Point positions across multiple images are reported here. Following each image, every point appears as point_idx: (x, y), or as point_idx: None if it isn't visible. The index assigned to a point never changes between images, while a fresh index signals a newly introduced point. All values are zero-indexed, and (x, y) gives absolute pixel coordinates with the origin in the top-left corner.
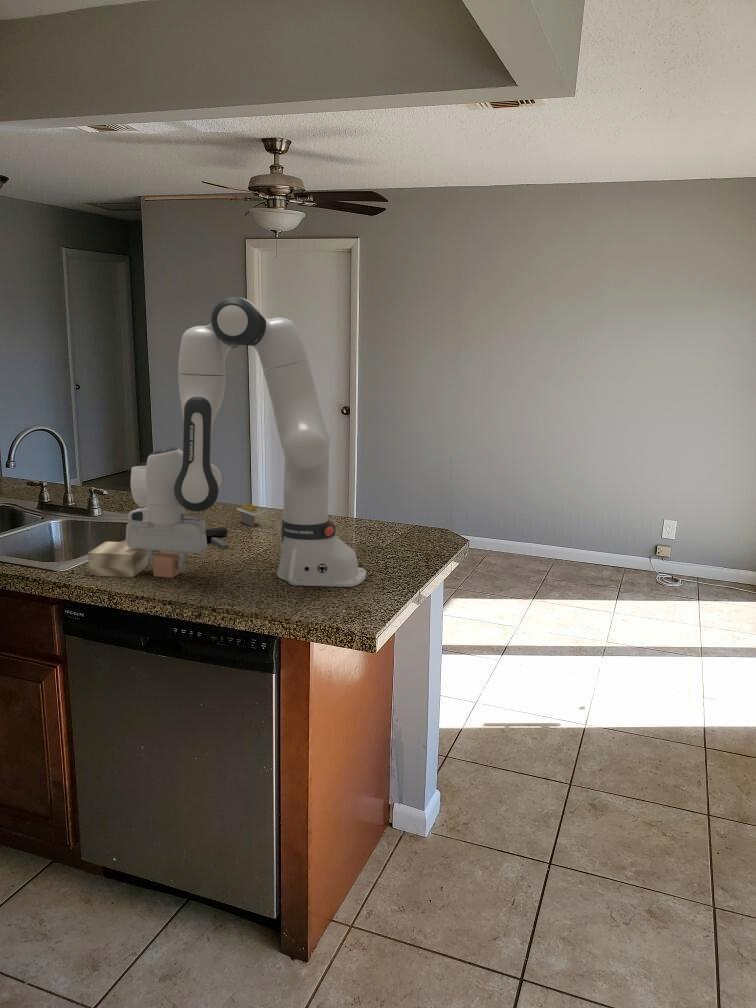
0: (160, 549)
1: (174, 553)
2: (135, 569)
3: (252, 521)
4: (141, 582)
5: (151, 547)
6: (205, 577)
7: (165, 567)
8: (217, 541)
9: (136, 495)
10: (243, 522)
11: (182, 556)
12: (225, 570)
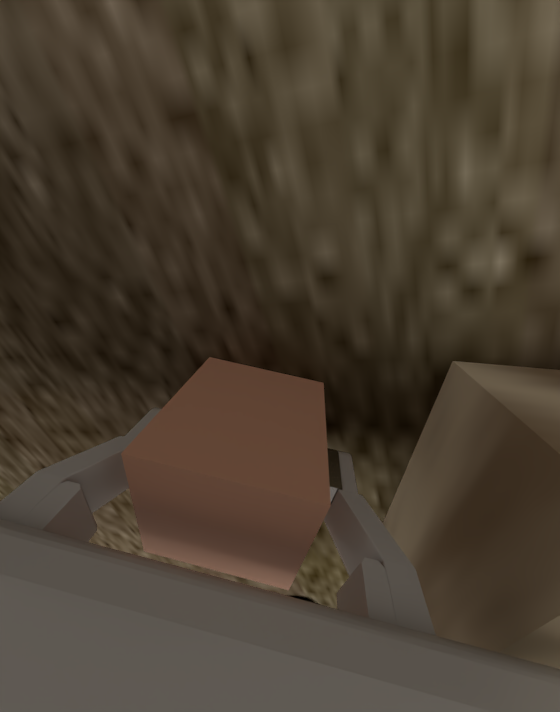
0: (230, 608)
1: (179, 548)
2: (457, 424)
3: None
4: (382, 244)
5: (368, 678)
6: (64, 369)
7: (229, 403)
8: None
9: None
10: None
11: (47, 478)
12: (58, 450)
